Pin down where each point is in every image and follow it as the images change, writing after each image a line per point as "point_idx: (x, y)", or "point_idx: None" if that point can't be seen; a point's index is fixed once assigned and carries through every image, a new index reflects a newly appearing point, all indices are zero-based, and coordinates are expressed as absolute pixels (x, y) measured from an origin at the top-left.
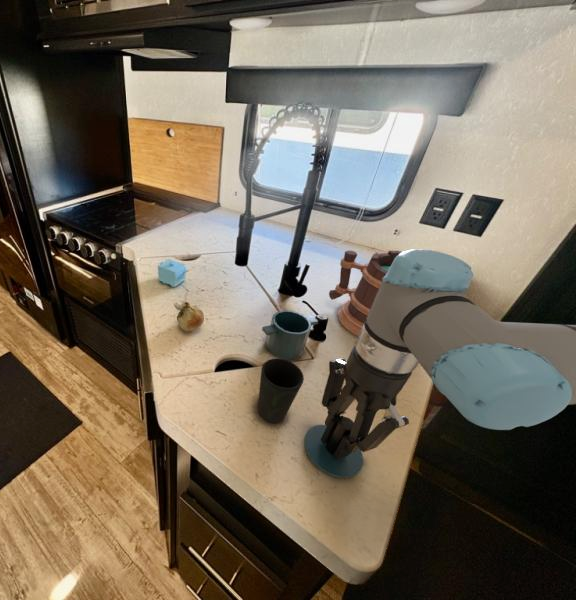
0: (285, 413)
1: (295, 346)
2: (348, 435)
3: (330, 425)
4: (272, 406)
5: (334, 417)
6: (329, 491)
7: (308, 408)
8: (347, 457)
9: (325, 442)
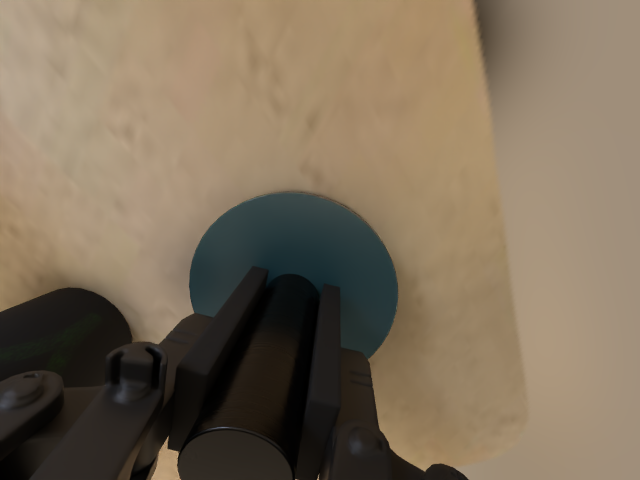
0: (92, 368)
1: None
2: (301, 459)
3: None
4: None
5: (165, 439)
6: None
7: (118, 203)
8: (342, 284)
9: None
